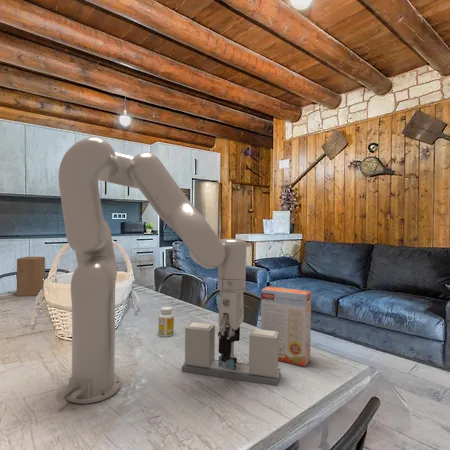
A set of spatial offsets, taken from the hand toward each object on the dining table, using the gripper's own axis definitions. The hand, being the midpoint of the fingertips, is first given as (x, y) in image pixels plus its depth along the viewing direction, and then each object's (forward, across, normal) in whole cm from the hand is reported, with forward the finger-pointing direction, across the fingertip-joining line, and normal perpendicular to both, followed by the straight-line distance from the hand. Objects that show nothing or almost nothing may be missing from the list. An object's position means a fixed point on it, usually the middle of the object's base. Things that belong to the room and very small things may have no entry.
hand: (229, 346), depth 86 cm
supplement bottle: (+7, +21, +29) cm, 36 cm away
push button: (+6, -1, 0) cm, 6 cm away
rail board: (+7, 0, 0) cm, 7 cm away
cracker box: (+7, +14, -14) cm, 21 cm away
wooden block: (+9, +54, +126) cm, 137 cm away
